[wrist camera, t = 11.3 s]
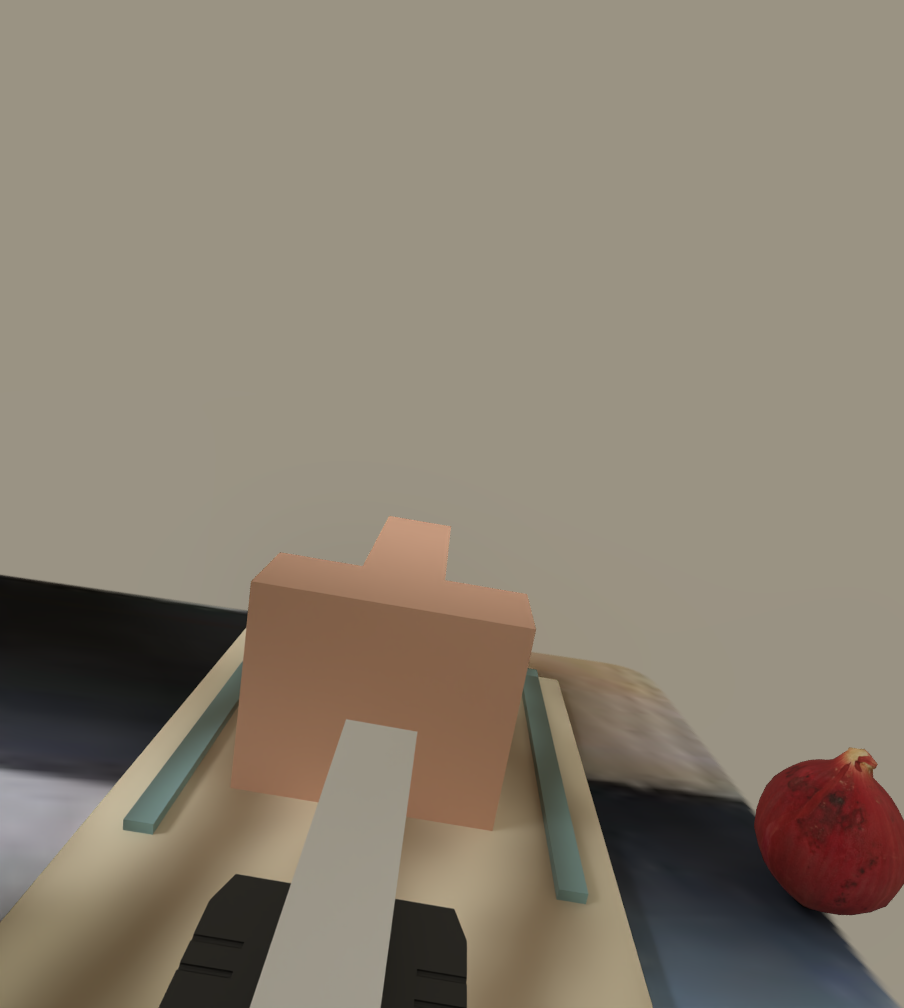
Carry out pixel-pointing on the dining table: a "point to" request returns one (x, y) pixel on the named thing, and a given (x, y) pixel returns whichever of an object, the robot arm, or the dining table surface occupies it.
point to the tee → (383, 672)
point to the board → (276, 852)
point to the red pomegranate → (832, 835)
